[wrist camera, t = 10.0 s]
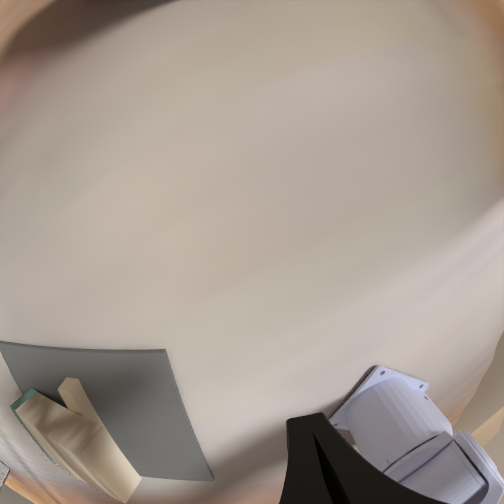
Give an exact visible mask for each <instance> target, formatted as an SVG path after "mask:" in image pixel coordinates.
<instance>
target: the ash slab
mask: <svg viewBox="0 0 504 504" xmlns="http://www.w3.org/2000/svg"><path fill="white" fill-rule="evenodd" d="M10 407H11V409H12V410H13V412H14V413H15V415H16V416H17V418H18V419H19V421H20V422H21V424H22V425H23V426H24V428H25V429H26V430H27V432H28V433H29V434H30V436H31V437H32V438H33V440H34V441H35V442H36V443H37V445H38V446H39V447H40V448H41V449H42V451H43V452H44V453H45V454H46V455H47V456H48V458H49V459H50V460H51V461H53V462H54V463H55V464H57V465H59V466H60V467H62V468H63V469H65V470H66V471H68V472H69V473H71V474H72V475H74V476H75V477H77V478H78V479H80V480H82V481H83V482H85V483H87V484H88V485H90V486H92V487H94V488H95V489H97V490H99V491H101V492H103V493H104V494H106V495H108V496H110V497H112V498H114V499H116V500H118V501H120V502H122V503H125V504H126V503H127V501H128V500H129V498H130V496H131V495H132V493H133V492H134V490H135V488H136V487H137V485H138V484H139V482H140V480H141V479H142V478H141V477H140V476H139V474H138V473H137V472H136V471H135V469H134V468H133V467H132V465H131V464H130V463H129V462H128V460H127V459H126V458H125V456H124V455H123V453H122V452H121V451H120V449H119V448H118V446H117V445H116V443H115V442H114V441H113V439H112V438H111V436H110V435H109V433H108V431H107V430H106V428H105V427H104V426H103V425H100V424H98V423H96V422H94V421H91V420H89V419H87V418H85V417H83V416H81V415H79V414H77V413H75V412H73V411H71V410H69V409H67V408H65V407H63V406H61V405H59V404H57V403H56V402H54V401H52V400H50V399H49V398H47V397H45V396H43V395H42V394H40V393H38V392H37V391H36V390H35V389H33V388H31V389H30V390H29V391H27V392H26V393H25V394H24V395H23V396H21V397H20V398H19V399H18V400H17V401H15V402H14V403H13V404H12V405H11V406H10Z"/></svg>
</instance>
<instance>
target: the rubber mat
mask: <svg viewBox="0 0 504 504" xmlns="http://www.w3.org/2000/svg"><path fill="white" fill-rule="evenodd" d="M0 351H1V353H2V355H3V358H4V360H5V362H6V364H7V366H8V368H9V370H10V372H11V374H12V376H13V378H14V379H15V381H16V383H17V385H18V387H19V389H20V390H21V392H22V394H23V395H24V394H25V393H26V392H27V391H29V390H30V389H31V388H33V389H35V390H36V391H37V392H38V393H40V394H42V395H43V396H45V397H47V398H49V399H50V400H52V401H54V402H56V403H57V404H59V405H61V406H63V407H65V408H67V409H69V410H71V411H73V412H75V413H77V414H79V415H81V416H83V417H85V418H87V419H89V420H91V421H94V422H96V423H98V424H100V425H103V426H104V427H105V428H106V430H107V431H108V433H109V435H110V436H111V438H112V439H113V441H114V442H115V443H116V445H117V446H118V448H119V449H120V451H121V452H122V453H123V455H124V456H125V458H126V459H127V460H128V462H129V463H130V464H131V465H132V467H133V468H134V469H135V471H136V472H137V473H138V474H139V476H145V477H153V478H162V479H175V480H199V481H214V477H213V475H212V473H211V471H210V468H209V466H208V464H207V462H206V460H205V457H204V455H203V453H202V450H201V448H200V446H199V443H198V441H197V439H196V436H195V434H194V431H193V429H192V426H191V424H190V421H189V418H188V416H187V413H186V410H185V408H184V405H183V402H182V399H181V396H180V394H179V391H178V388H177V385H176V382H175V379H174V375H173V372H172V369H171V366H170V363H169V359H168V356H167V353H166V349H159V350H93V349H72V348H57V347H45V346H35V345H26V344H18V343H10V342H3V341H0Z"/></svg>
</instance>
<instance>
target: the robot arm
mask: <svg viewBox="0 0 504 504" xmlns="http://www.w3.org/2000/svg"><path fill="white" fill-rule="evenodd" d="M428 387H429V384H428V383H427V382H425V381H422V380H419V379H416V378H413V377H410V376H408V375H405V374H402V373H399V372H397V371H394V370H391V369H389V368H386V367H383V366H381V365H379V366H376V367H375V368H374V369H373V370H372V372H371V373H370V374H369V375H368V376H367V378H366V379H365V380H364V381H363V383H362V384H361V385H360V386H359V387H358V388H357V390H356V391H355V392H354V393H353V394H352V395H351V396H350V398H349V399H348V400H347V401H346V402H345V403H344V404H343V405H342V406H341V407H340V409H339V410H338V411H337V412H336V413H335V414H334V415H333V416H332V417H331V418H330V419H329V420H328V419H327V418H326V416H325V415H324V414H323V413H322V412H320V413H316V414H311V415H306V416H301V417H295V418H290V419H288V420H287V421H286V425H287V449H288V465H287V471H286V477H285V482H284V487H283V491H282V495H281V499H280V502H279V504H498V503H499V501H500V499H501V497H502V495H503V492H504V486H503V484H504V479H503V478H502V477H501V476H500V474H499V473H498V471H497V470H498V469H497V467H496V465H495V464H494V463H493V461H492V460H491V459H490V457H489V456H488V455H487V453H486V452H485V451H484V450H483V449H482V447H481V446H480V445H479V444H478V442H477V441H476V440H475V439H474V438H473V437H472V435H471V434H470V433H469V432H468V431H457V432H456V433H455V434H454V437H455V439H456V440H457V441H458V442H457V441H456V440H455V439H454V438H453V436H452V435H453V432H452V427H451V424H450V422H449V421H448V420H447V418H446V417H445V416H444V415H443V414H442V412H441V411H440V410H439V409H438V408H437V407H436V405H435V404H434V403H433V402H432V401H431V400H430V398H429V397H428V396H427V395H426V394H425V393H424V392H425V391H426V390H427V388H428ZM335 428H336V429H342V430H348V431H350V432H351V434H352V436H353V439H354V441H355V443H356V445H357V447H358V449H359V451H360V454H361V455H360V454H359V453H358V452H357V451H356V450H355V449H354V448H353V447H352V446H351V445H350V444H349V443H348V442H347V441H346V440H345V439H344V438H343V437H342V436H341V435H340V434H339V432H338V431H337V430H336V429H335ZM458 443H459V444H458Z"/></svg>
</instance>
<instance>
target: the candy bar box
mask: <svg viewBox="0 0 504 504" xmlns="http://www.w3.org/2000/svg"><path fill="white" fill-rule="evenodd" d="M9 472H10V469H9V468H8V467H7V466H6V465H5V464H4V463H3V462H1V461H0V491H1V489H2V487H3V485H4V483H5V481H6V479H7V477H8V474H9Z"/></svg>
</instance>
